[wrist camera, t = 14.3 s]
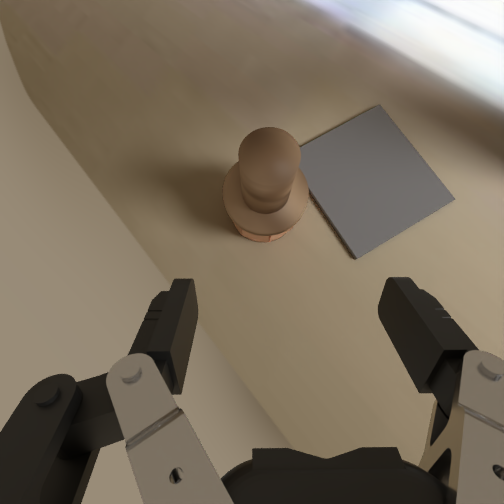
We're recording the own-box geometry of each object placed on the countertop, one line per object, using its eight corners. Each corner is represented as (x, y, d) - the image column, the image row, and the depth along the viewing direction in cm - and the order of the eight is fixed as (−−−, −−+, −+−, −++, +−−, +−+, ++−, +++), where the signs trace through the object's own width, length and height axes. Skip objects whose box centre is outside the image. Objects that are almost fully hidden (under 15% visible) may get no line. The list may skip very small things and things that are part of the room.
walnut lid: (278, 145, 31) (287, 89, 23) (322, 209, 29) (348, 172, 22) (208, 182, 30) (193, 137, 22) (250, 251, 28) (249, 228, 21)
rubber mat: (377, 107, 38) (379, 104, 37) (452, 201, 35) (455, 199, 34) (285, 157, 36) (286, 154, 36) (355, 259, 33) (357, 258, 33)
